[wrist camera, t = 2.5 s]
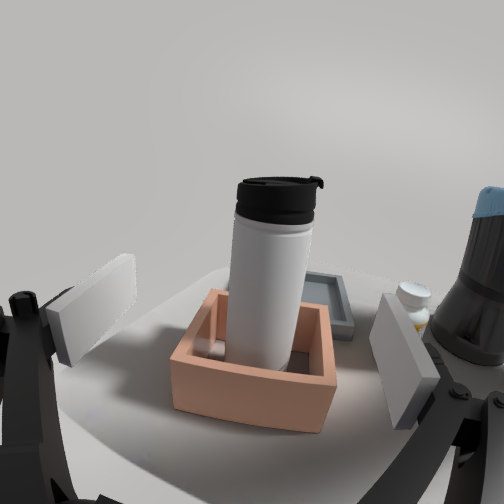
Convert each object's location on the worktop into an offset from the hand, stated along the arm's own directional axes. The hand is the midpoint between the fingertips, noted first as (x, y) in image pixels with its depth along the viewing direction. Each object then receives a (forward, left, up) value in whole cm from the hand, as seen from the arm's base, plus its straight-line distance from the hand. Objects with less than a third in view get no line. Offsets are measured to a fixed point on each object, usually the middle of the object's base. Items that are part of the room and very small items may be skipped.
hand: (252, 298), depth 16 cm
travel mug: (0, -10, -15) cm, 18 cm away
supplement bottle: (-16, -16, -15) cm, 27 cm away
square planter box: (0, -10, -15) cm, 18 cm away
